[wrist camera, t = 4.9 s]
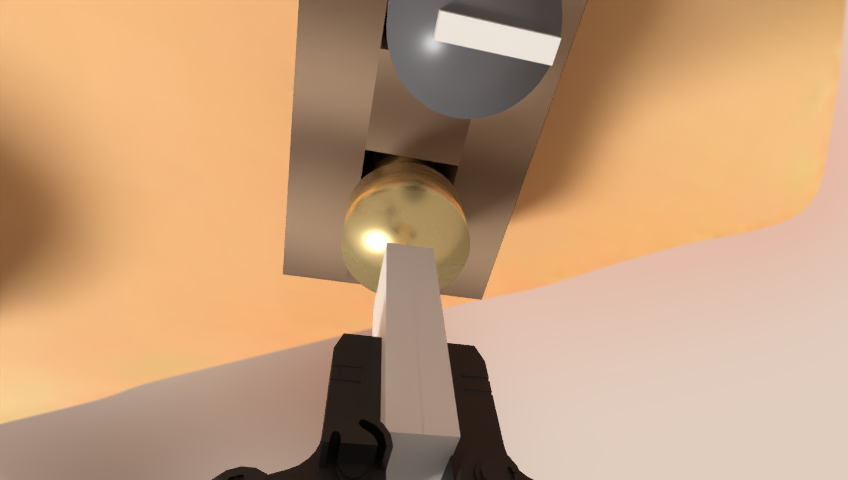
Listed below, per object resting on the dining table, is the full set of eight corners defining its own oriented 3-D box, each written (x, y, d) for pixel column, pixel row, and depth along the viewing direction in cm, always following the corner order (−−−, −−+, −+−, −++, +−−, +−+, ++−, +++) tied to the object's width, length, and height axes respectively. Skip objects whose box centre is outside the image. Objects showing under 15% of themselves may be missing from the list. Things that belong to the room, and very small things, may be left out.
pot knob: (398, -78, 17) (404, -99, 9) (501, -52, 18) (595, -48, 9) (381, 37, 19) (373, 105, 11) (474, 57, 20) (531, 136, 12)
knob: (363, 100, 23) (349, 179, 16) (455, 117, 24) (485, 202, 16) (352, 184, 26) (334, 290, 18) (435, 198, 27) (453, 304, 19)
